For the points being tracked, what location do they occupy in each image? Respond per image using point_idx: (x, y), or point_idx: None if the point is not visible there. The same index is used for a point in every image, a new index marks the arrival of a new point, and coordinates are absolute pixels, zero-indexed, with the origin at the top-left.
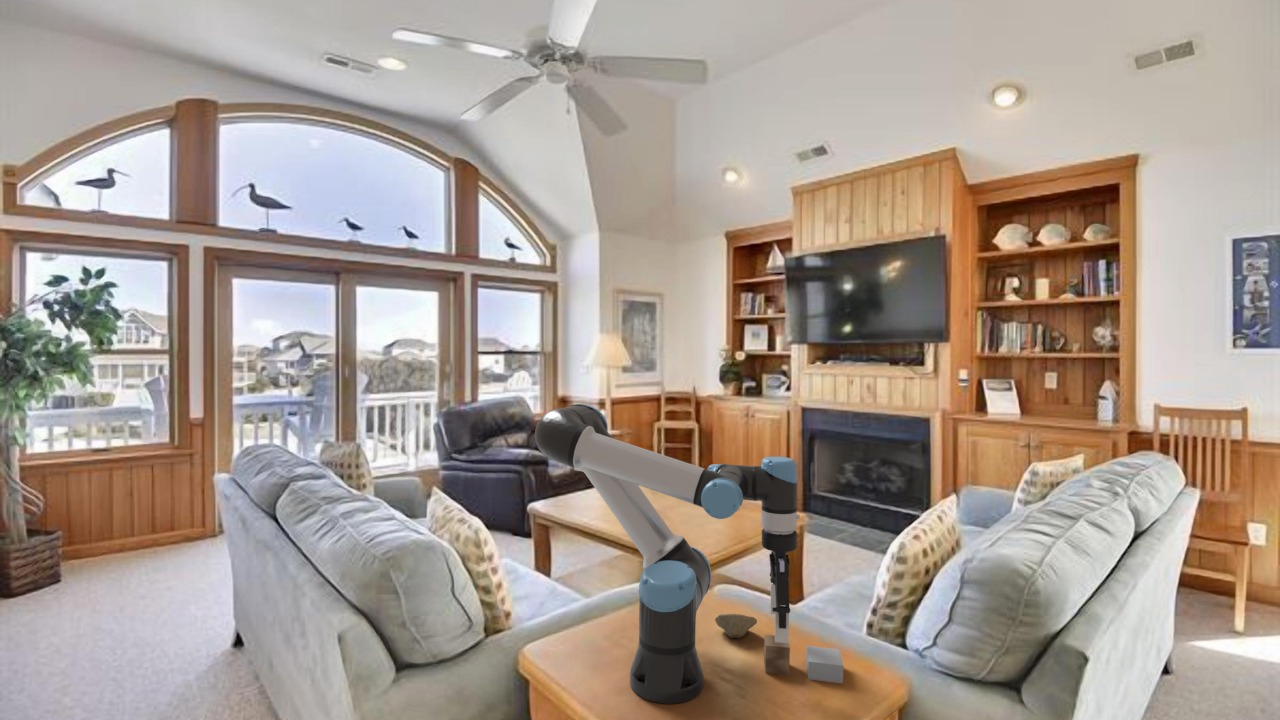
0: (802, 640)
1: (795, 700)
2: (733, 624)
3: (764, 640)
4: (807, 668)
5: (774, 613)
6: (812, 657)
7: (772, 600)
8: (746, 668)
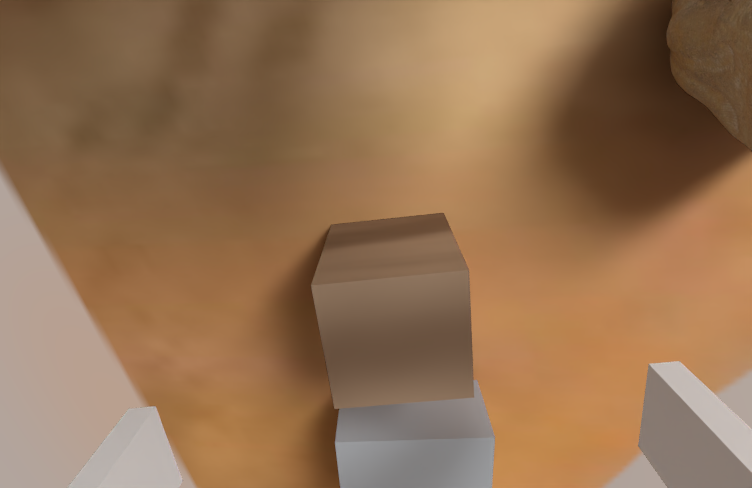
0: None
1: (167, 342)
2: (722, 2)
3: (454, 255)
4: None
5: (646, 393)
6: (378, 456)
7: (740, 478)
8: (346, 131)
